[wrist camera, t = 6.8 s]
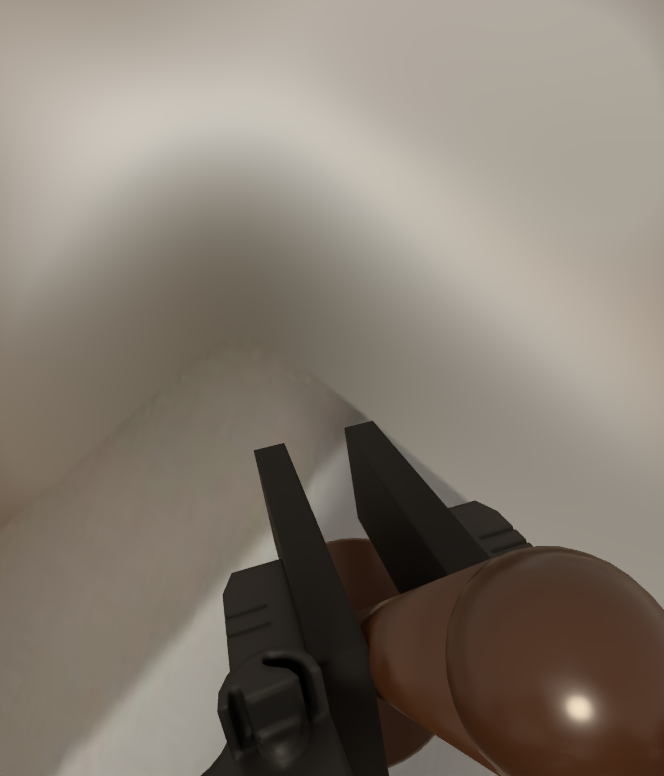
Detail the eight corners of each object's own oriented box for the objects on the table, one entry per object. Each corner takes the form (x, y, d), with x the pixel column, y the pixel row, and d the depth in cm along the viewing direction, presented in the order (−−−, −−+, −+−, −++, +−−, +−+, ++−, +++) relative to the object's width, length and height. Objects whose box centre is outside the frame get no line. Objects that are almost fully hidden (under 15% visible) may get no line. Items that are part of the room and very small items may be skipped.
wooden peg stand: (222, 685, 16) (-177, 975, 2) (313, 522, 18) (394, 167, 5) (387, 791, 15) (1344, 2255, 1) (460, 606, 18) (1103, 488, 4)
